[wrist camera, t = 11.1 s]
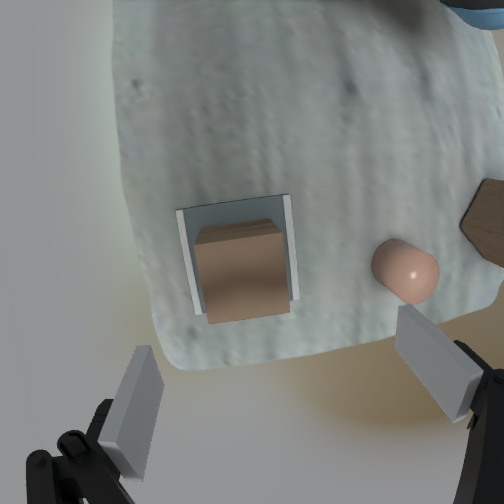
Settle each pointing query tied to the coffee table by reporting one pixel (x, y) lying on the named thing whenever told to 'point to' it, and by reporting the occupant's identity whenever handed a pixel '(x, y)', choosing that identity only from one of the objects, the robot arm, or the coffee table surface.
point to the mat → (229, 214)
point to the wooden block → (487, 221)
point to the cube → (242, 270)
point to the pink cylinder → (405, 270)
